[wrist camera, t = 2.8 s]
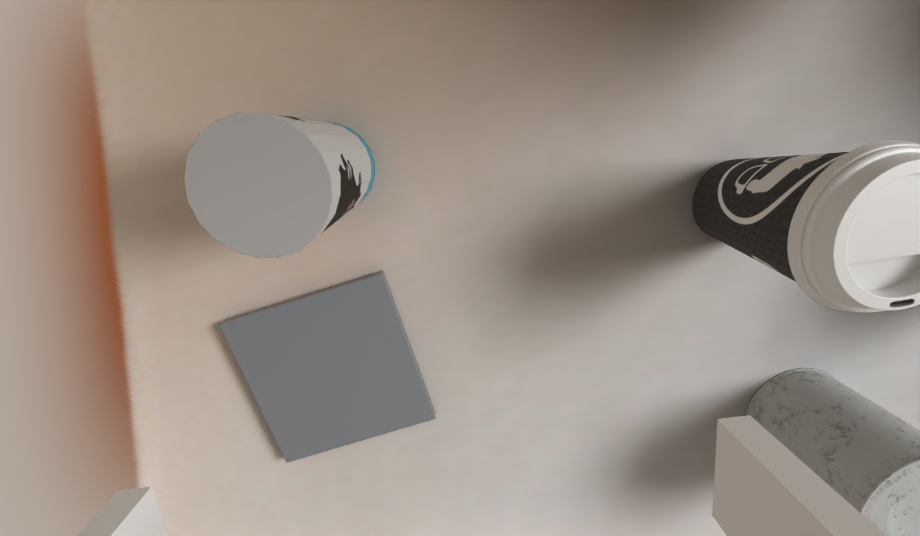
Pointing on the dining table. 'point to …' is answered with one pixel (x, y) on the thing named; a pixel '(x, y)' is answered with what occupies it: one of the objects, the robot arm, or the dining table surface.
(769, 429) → the grey concrete cylinder
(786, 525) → the robot arm
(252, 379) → the coaster
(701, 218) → the coffee cup
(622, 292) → the dining table surface
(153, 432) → the dining table surface
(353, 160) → the white printed cylinder
